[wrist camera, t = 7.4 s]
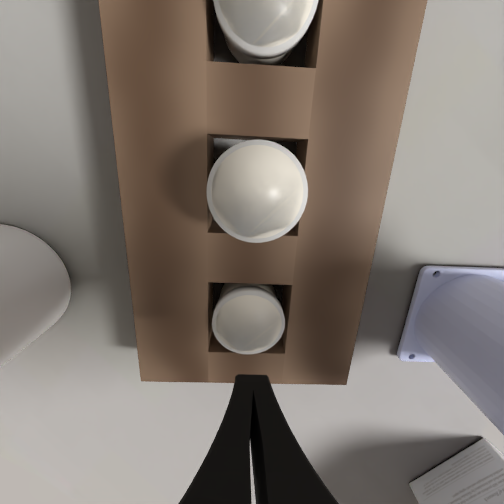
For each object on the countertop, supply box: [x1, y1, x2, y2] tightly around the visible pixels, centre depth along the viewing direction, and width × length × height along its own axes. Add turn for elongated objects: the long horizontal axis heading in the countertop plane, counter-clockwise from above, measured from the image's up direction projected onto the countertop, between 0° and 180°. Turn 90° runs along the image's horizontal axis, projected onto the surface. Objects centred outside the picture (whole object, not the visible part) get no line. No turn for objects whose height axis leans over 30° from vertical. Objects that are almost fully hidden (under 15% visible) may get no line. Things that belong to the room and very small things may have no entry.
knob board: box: [98, 0, 427, 385], centre depth 15 cm, size 14×26×3 cm, turn 177°
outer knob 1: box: [213, 0, 318, 66], centre depth 12 cm, size 4×4×3 cm
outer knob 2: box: [212, 283, 285, 354], centre depth 18 cm, size 4×4×3 cm
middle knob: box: [207, 140, 308, 243], centre depth 13 cm, size 4×4×3 cm
